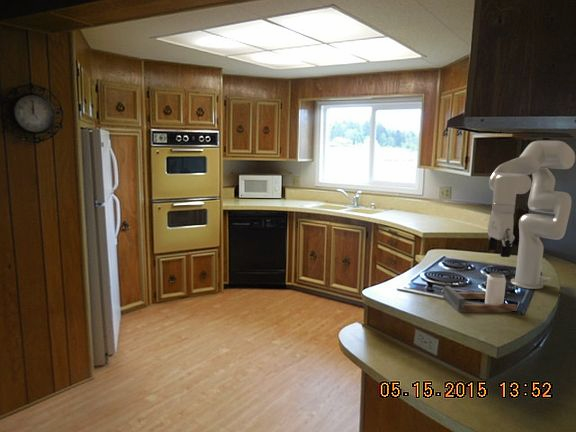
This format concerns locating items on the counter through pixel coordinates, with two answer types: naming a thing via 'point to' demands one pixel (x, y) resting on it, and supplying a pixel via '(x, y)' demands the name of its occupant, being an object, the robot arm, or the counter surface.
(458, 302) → the guide track
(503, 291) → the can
